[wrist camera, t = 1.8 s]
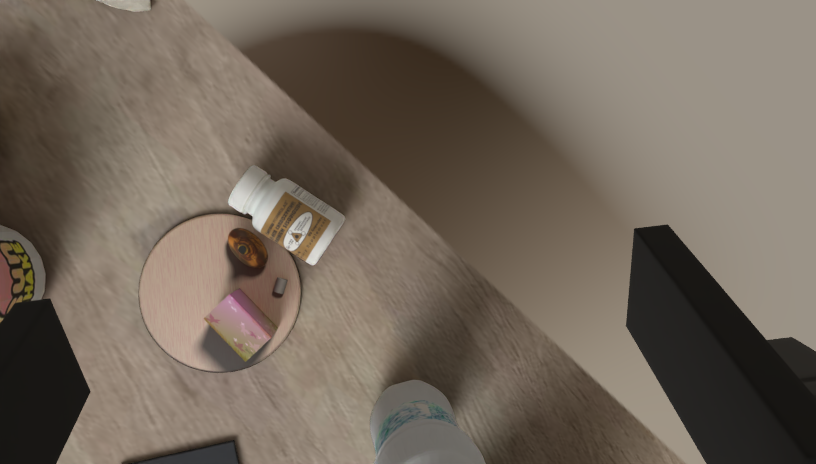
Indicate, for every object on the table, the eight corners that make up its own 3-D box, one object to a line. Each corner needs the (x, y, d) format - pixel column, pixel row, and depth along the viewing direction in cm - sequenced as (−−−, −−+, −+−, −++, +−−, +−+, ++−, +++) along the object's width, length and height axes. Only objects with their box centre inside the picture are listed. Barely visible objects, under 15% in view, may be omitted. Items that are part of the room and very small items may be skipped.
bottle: (445, 462, 53) (503, 608, 33) (360, 452, 52) (367, 595, 32) (458, 377, 53) (524, 472, 33) (373, 366, 52) (387, 456, 32)
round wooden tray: (333, 295, 52) (332, 302, 47) (217, 405, 51) (204, 423, 47) (223, 180, 51) (211, 176, 46) (104, 290, 50) (79, 297, 46)
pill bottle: (308, 275, 48) (215, 216, 48) (322, 255, 52) (236, 200, 52) (340, 227, 47) (245, 165, 46) (351, 210, 51) (264, 153, 50)
